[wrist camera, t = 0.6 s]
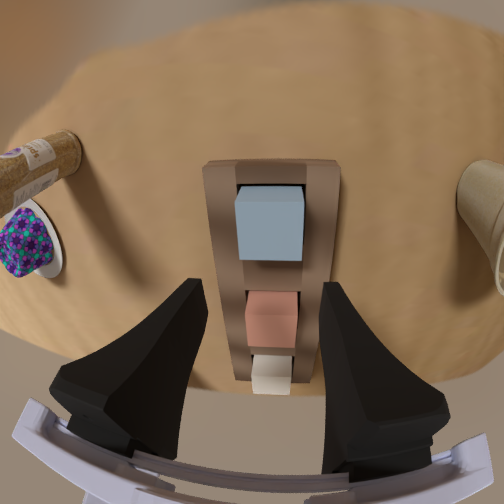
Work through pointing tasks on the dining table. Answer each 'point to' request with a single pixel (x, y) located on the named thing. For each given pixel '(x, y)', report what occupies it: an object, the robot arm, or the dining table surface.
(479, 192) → the flower pot
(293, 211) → the blue key
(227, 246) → the board
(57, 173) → the sprinkles bottle
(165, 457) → the robot arm
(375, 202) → the dining table surface
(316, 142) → the dining table surface
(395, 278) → the dining table surface
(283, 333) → the brick key
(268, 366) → the white key
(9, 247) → the purple domed brimmed piece
